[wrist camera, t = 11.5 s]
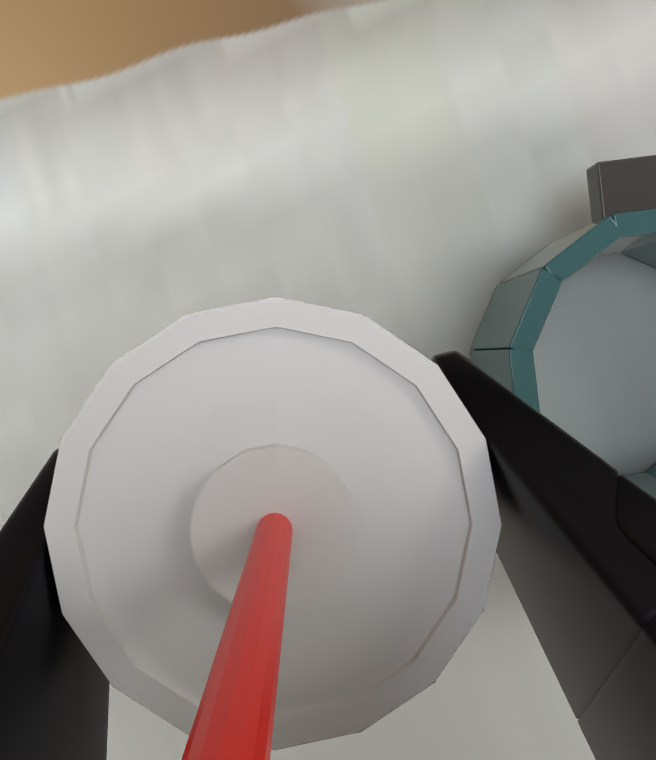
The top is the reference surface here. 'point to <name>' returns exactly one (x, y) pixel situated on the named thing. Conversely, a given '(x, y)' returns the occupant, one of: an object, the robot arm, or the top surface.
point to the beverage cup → (272, 525)
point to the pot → (559, 261)
